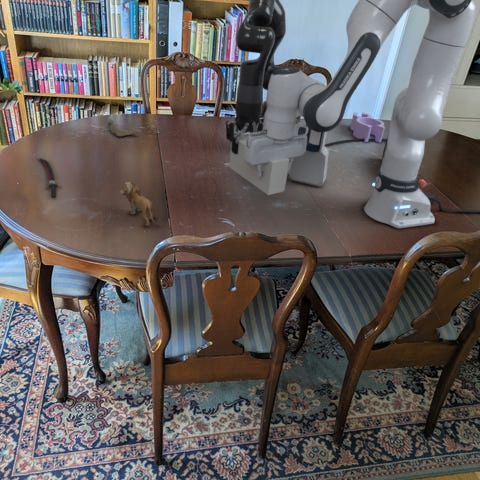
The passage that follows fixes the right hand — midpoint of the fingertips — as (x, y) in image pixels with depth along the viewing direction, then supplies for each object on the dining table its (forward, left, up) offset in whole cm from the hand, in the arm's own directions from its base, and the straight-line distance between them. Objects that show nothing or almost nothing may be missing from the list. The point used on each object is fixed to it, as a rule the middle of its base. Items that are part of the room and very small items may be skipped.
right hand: (272, 173), depth 137 cm
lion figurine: (+39, +1, -14) cm, 41 cm away
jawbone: (+45, -70, -14) cm, 85 cm away
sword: (+68, -24, -14) cm, 73 cm away
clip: (-63, -73, -14) cm, 97 cm away
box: (+3, -7, -5) cm, 9 cm away
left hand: (+6, -14, +1) cm, 15 cm away
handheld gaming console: (-57, -33, -14) cm, 67 cm away
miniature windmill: (-29, -81, -14) cm, 87 cm away
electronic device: (-20, -23, -14) cm, 34 cm away
